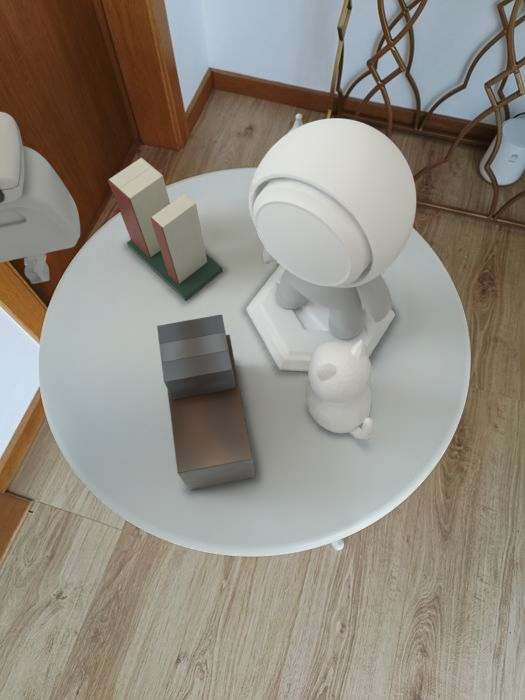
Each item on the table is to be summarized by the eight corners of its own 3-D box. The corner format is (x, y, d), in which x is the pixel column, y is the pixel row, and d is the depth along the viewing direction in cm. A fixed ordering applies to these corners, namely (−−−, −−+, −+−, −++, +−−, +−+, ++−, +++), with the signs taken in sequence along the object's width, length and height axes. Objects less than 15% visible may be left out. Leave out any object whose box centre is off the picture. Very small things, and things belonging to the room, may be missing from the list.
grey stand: (189, 490, 72) (168, 460, 57) (174, 376, 79) (152, 324, 65) (255, 477, 72) (250, 444, 58) (234, 365, 80) (225, 311, 65)
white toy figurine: (225, 337, 82) (193, 168, 50) (304, 235, 90) (319, 34, 58) (338, 405, 77) (382, 264, 45) (411, 290, 85) (492, 102, 53)
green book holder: (185, 301, 85) (168, 242, 71) (127, 246, 90) (101, 182, 76) (223, 271, 87) (213, 209, 74) (164, 219, 92) (145, 152, 78)
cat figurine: (338, 361, 80) (351, 311, 66) (392, 428, 75) (418, 389, 61) (288, 393, 78) (291, 347, 64) (340, 464, 73) (355, 431, 59)
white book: (178, 284, 85) (161, 228, 72) (168, 275, 86) (150, 217, 73) (207, 262, 87) (196, 203, 74) (197, 253, 87) (184, 193, 75)
